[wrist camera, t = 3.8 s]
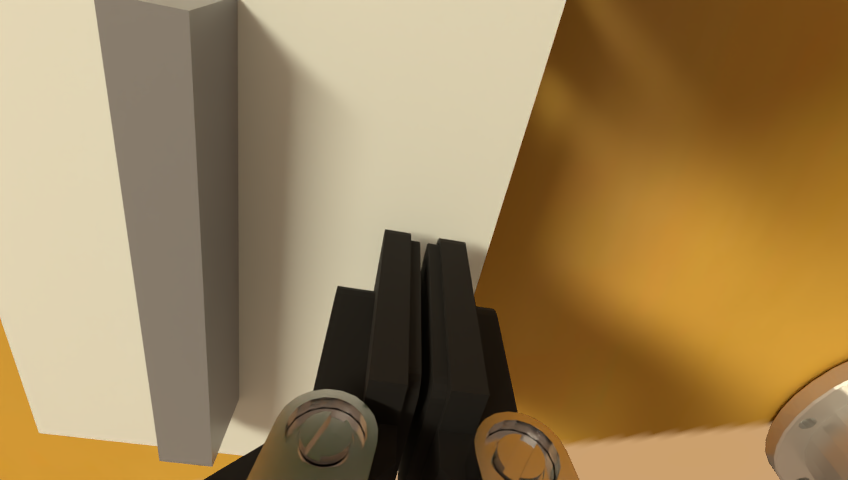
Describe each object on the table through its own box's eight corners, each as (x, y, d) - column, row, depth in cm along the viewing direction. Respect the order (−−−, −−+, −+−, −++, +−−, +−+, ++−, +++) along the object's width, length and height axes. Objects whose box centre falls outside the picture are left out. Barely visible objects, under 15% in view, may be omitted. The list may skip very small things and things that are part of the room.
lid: (588, -105, 8) (653, -123, 6) (417, 457, 16) (417, 542, 13) (-164, -293, 7) (-448, -406, 5) (52, 415, 14) (-15, 501, 12)
